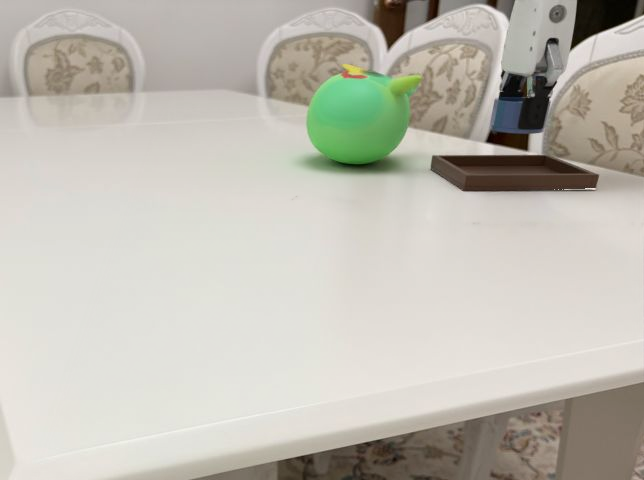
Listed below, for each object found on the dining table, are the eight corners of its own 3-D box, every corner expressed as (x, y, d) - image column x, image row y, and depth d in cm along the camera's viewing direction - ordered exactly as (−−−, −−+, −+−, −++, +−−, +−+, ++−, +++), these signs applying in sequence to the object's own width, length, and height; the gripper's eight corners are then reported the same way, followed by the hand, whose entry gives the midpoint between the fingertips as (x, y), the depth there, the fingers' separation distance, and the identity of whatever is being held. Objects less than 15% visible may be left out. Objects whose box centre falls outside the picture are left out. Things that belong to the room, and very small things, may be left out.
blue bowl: (530, 126, 98) (536, 96, 96) (553, 133, 92) (560, 102, 90) (481, 126, 98) (486, 97, 97) (500, 133, 92) (507, 102, 90)
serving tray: (545, 168, 104) (548, 154, 104) (595, 190, 91) (599, 174, 90) (430, 169, 105) (432, 155, 104) (463, 191, 92) (466, 175, 91)
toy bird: (308, 151, 120) (315, 60, 113) (408, 154, 116) (421, 61, 109) (298, 171, 104) (305, 67, 97) (413, 176, 100) (429, 69, 94)
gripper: (614, -24, 79) (575, 134, 87) (545, -17, 95) (518, 116, 103) (549, -24, 79) (516, 134, 87) (491, -17, 95) (467, 116, 103)
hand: (517, 123), depth 95 cm, fingers closed on blue bowl, 7 cm apart
